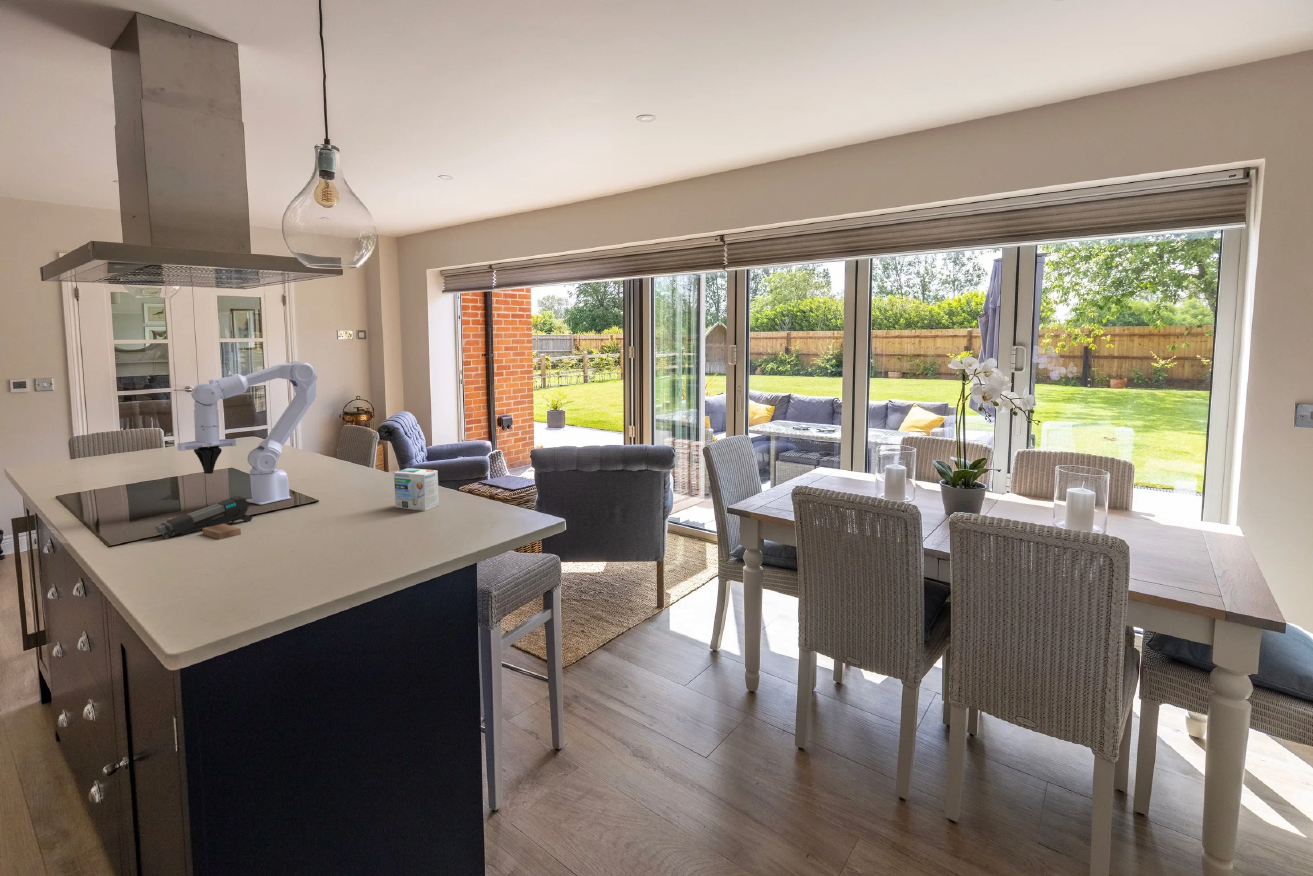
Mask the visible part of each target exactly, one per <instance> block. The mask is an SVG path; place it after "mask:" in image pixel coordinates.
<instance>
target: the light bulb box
mask: <svg viewBox="0 0 1313 876" xmlns="http://www.w3.org/2000/svg"><path fill="white" fill-rule="evenodd" d="M438 473H439V472H438V469H437V470H435V469H426V468H425V469H424V468H423V469H421V468H411V467H408V468H404V469H401V470H397V471H395V472H393V476H394V477H393V479H394V497H395V499H394V501H395V502H394V503H395V508H398V509H406V510H414V511H424V512H426V511H428V510H432V509H434V508H436V507H438V506H440V500H439V475H438Z"/></svg>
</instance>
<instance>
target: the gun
mask: <svg viewBox="0 0 1313 876" xmlns="http://www.w3.org/2000/svg"><path fill="white" fill-rule="evenodd" d="M246 500H247V498H245V497H242V496H239V495H235V496H232V497H230V498H227V499H224V500H221V501H219V502H216V503H214V504H212V505H208V506H207V507H203V508H200V509H198V510H195V511H193V512H189V513H184V514H182V515H178V516H174V517H175V518H174V517H172V518H173V519H170V520H168V519H167V520H166V521H164V522H162V523H158V524H155V525H154V528H155V531H156V532H157V533H159V534H161V535H162V536H161V537H162V538H165V539H170V538H172V537H173V536H176V535H180V536H183V535H187V534H189V533H192V532H195V531H197V530H198V529H202V528H203V527H204V528H205V527H206V528H207V527H211V526H215V525H220V524H227V525H232V524H233V523H234V522H235V521H236V520H238V519H239V520H242V521H245V522H246V523H249V522H251V521H252V519H253V516H251V515H248V514H246V513H247V511H249V509H248V508H249V504H248V502H247V501H246Z"/></svg>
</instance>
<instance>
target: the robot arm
mask: <svg viewBox="0 0 1313 876" xmlns="http://www.w3.org/2000/svg"><path fill="white" fill-rule="evenodd" d="M277 379H282V380H288V382H290V384H292V387H293V390H294V392H295V393H294V394H295V395H294V397H293V398H292V399H291V401H290V402H289V404H288V406H287V407H286V408H285V410H284V411H283V413H282V415H281V416H280V417H279V418H278V421H277V422H276V423H275V424H274V426H273V428H272V429H271V430H270V431H269V434H268V435H267V436H266V438H265V439H264V440H262V441H260V443H259V444H258V445H257V447H256V448H254V449H252V450H251V451H249V453H248V455H247V463H248V464H249V465H250V466H251V469H250V470H249V477H250V478H249V479H250V490H251V498H249V499H246V501H247V503H250V504H251V503H252V504H256V505H260V506H261V505H267V504H271V503H274V502H279V501H284V500H289V499H291V498H292V496H290V489H289V488H290V487H289V485H290V484H289V478H288V474H287V473H286V471H285V470H284V469H282V468H281V469H280V468H279V469H278V468H277V467H278V465H279V458H280V456H281V455H282V452H283V447H284V446H285V444H286V442H287V441H288V440H289V438H290V436H291V435H292V434H293V432H294V431H295V429H296V428H297V427H298V425H299V423H300V422H301V421H302V419H303V417H304V416H305V414H306V413H307V412H308V410H309V408H310V407H311V406H312V405H313V404H312V403H314V401H315V399H316V397H317V380H318V375H317V372H316V370H315V368H314V367H313V366H312V365H311V364H310V363H308V362H306V361H305V362H304V361H303V362H301V361H297V360H295V361H291V362H284V363H280V364H279V363H278V364H275V365H272V366H270V367H266V368H264V369H261V370H257V371H255V372H253V373H250V374H246V375H242V374H239V373H235V374H233V372H230V373H226V376H224V377H221V378H218V379H215V380H214V378H213V379H209V380H208V382H209V383H204V382H203V383H199V384H197V385H195V386H194V387H193V389H192V391H191V392H190V394H191V398H192V399H193V400H194V403H193V404H194V405H193V407H194V409H193V418H194V422H193V423H194V441H193V440H192V441H188V442H187V441H186V442H179V443H176V445H177V447H176V448H177V451H180V452H184V451H185V452H186V451H190V450H191V451H192V450H193V453H194V454H195V455H196V457H197V458H198V460H199V462H200V464H201V467H202V470H203V473H204V474H207V475H208V474H209V475H212V474H214V469H215V465H216V462H217V460H218V458H219V456H220V455H221V453H222V452H223V450H222V447H223V448H225V447H236V446H237V441H236V439H234V438H227V439H226V438H225V439H220V425H219V423H220V421H219V418H220V417H219V409H218V402H219V401H220V400H226V399H227V398H228V399H229V398H231V397H234V396H238V395H240V394H244V393H246V392H247V390H248V389H249V387H251V386H254V385H259V384H262V383H265V382H268V381H272V380H277Z"/></svg>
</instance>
